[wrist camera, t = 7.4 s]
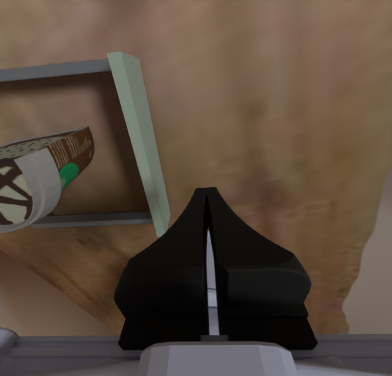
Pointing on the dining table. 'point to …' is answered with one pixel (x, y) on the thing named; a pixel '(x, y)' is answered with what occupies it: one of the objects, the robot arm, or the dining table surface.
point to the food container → (39, 174)
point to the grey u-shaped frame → (138, 131)
